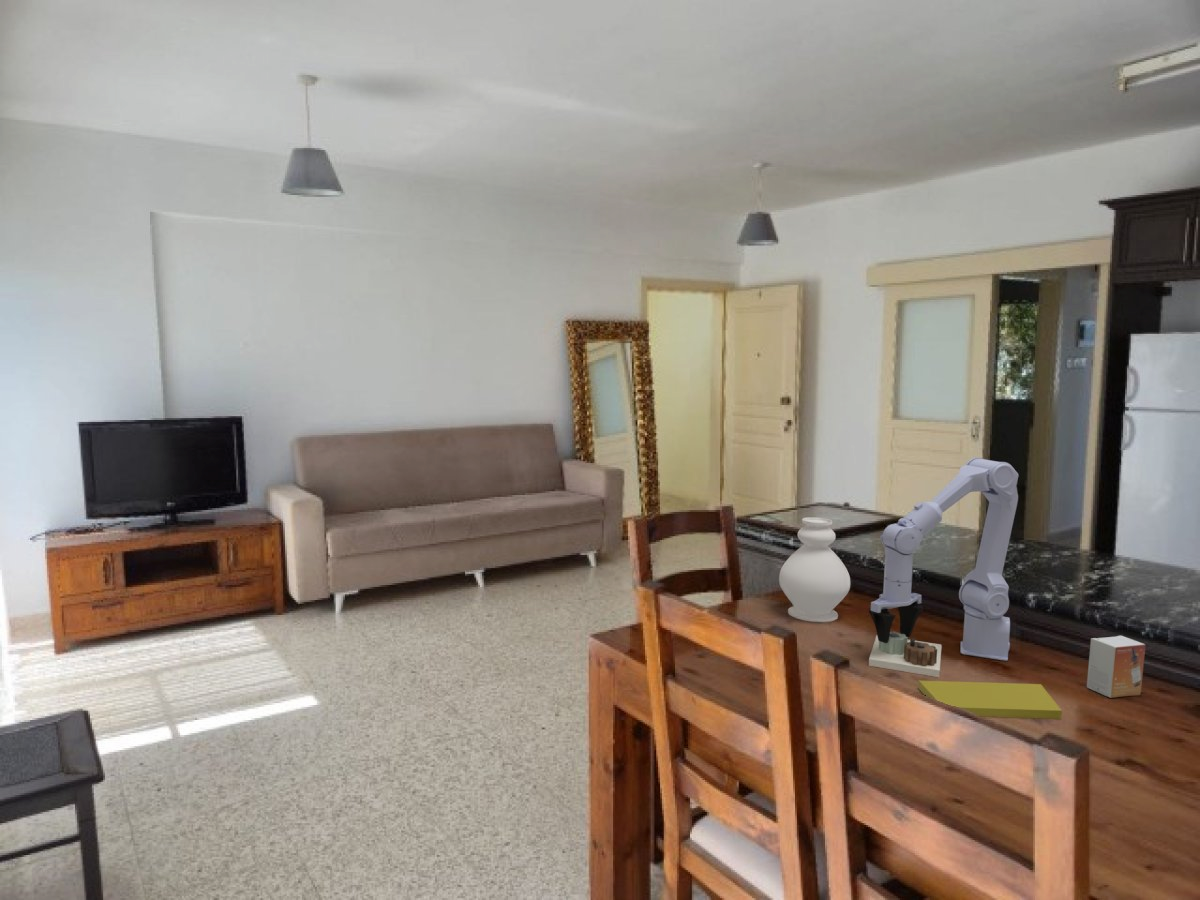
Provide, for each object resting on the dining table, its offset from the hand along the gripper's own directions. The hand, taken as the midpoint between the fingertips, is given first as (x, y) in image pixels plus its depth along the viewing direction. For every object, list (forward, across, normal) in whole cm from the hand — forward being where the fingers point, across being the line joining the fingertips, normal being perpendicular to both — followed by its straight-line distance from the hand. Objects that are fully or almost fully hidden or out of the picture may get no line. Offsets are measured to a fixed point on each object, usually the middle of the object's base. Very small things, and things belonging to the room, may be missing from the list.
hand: (894, 638), depth 172 cm
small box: (+5, -24, +34) cm, 42 cm away
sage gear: (+3, 0, 0) cm, 3 cm away
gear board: (+4, -2, +2) cm, 5 cm away
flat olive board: (+5, +3, +25) cm, 26 cm away
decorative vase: (+4, -7, -30) cm, 32 cm away
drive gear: (+3, 0, +7) cm, 7 cm away
